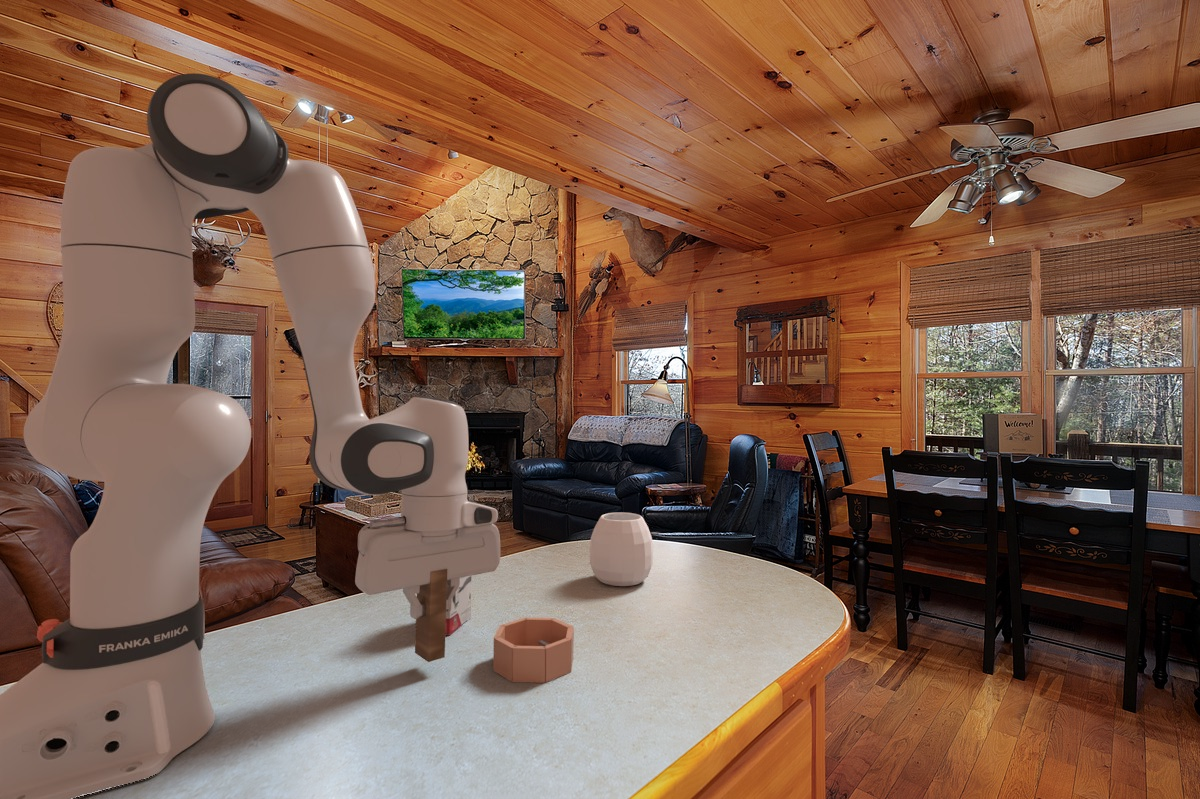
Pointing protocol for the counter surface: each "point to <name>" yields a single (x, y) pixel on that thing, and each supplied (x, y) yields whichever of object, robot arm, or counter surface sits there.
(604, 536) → the cup
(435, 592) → the tall wooden block
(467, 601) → the ink box
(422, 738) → the counter surface
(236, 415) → the robot arm
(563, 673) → the octagonal terracotta tray
